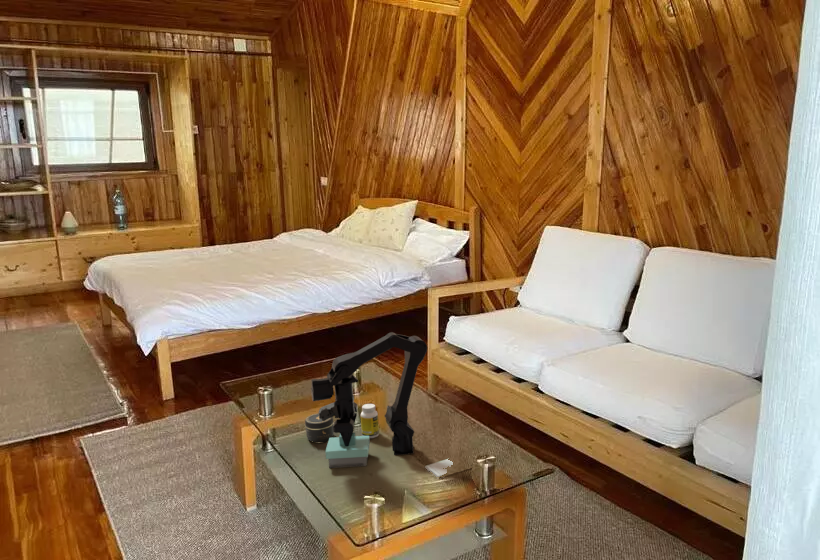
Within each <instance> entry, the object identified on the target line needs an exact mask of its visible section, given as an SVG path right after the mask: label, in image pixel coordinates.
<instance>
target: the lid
mask: <svg viewBox="0 0 820 560" xmlns="http://www.w3.org/2000/svg"><path fill="white" fill-rule="evenodd" d="M370 441H371V438H369V436H362V435H356V432H354V431H353V434H352V437H351V440H350V443H349V446H345V445H344V442H343V439H342V436H341V434H340V433H339V436H338V437H334V436H333V437H332V438H329V441H327V443H326V444H327V445H326V448H325V459H326V460H329V459H334V458H352V457H368V458H369V451H370V443H371V442H370Z"/></svg>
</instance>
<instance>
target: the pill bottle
mask: <svg viewBox="0 0 820 560" xmlns="http://www.w3.org/2000/svg"><path fill="white" fill-rule="evenodd" d="M361 409H362V411H361V413H360V427H361V436H369V439H374V438H377V437H378V436H379V435H380V427H379V414H378V411H377V410H376V405H375V404H374V403H365V404H363V405H362V406H361Z"/></svg>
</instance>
